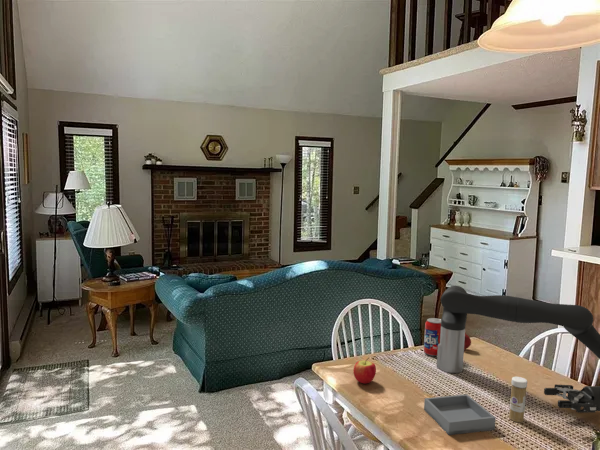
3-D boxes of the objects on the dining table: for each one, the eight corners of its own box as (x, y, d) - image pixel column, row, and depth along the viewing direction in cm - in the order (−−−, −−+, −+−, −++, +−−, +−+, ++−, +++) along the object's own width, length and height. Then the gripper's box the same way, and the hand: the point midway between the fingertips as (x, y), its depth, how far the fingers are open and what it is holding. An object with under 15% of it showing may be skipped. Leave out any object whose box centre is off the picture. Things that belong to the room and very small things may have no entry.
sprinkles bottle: (506, 419, 155) (509, 379, 154) (511, 414, 159) (514, 374, 157) (521, 424, 153) (525, 383, 151) (526, 418, 156) (529, 378, 154)
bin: (448, 435, 145) (449, 422, 145) (423, 409, 160) (424, 398, 160) (494, 429, 149) (495, 417, 148) (466, 405, 164) (467, 394, 164)
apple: (365, 389, 175) (366, 362, 173) (348, 381, 181) (349, 355, 180) (380, 382, 180) (381, 356, 179) (362, 375, 186) (363, 350, 185)
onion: (471, 352, 212) (472, 335, 211) (457, 351, 213) (458, 333, 212) (469, 348, 217) (470, 330, 217) (456, 346, 219) (457, 329, 218)
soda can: (446, 355, 208) (448, 321, 207) (433, 358, 204) (435, 324, 202) (432, 349, 215) (434, 316, 213) (419, 352, 211) (421, 319, 209)
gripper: (589, 377, 162) (541, 376, 162) (617, 398, 147) (564, 396, 147) (587, 399, 162) (539, 398, 162) (615, 421, 148) (562, 420, 148)
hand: (551, 397), depth 155 cm, fingers open, 8 cm apart
